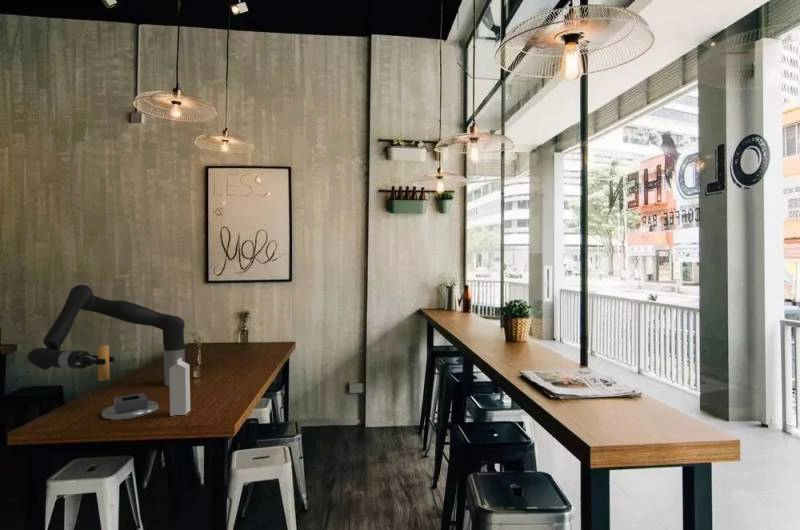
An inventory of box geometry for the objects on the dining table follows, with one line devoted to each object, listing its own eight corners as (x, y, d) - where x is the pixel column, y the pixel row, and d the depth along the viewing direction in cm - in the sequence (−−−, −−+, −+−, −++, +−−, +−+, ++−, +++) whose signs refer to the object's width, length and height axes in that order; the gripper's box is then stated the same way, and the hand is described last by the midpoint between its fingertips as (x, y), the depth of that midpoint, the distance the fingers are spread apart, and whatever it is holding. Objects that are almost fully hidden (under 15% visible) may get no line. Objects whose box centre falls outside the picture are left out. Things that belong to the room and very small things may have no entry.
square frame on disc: (155, 401, 206) (154, 388, 206) (161, 413, 189) (161, 399, 189) (100, 410, 195) (100, 396, 195) (102, 423, 178) (102, 409, 178)
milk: (190, 411, 192) (189, 356, 192) (186, 415, 186) (185, 359, 186) (174, 412, 191) (173, 357, 191) (169, 416, 185) (169, 360, 185)
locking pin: (109, 377, 200) (108, 344, 200) (109, 379, 197) (109, 346, 197) (98, 379, 198) (97, 345, 198) (98, 381, 195) (97, 347, 195)
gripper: (59, 354, 193) (95, 355, 190) (88, 347, 207) (122, 348, 204) (59, 372, 193) (95, 373, 190) (88, 364, 207) (122, 365, 204)
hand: (109, 360), depth 197 cm, fingers closed on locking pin, 4 cm apart
